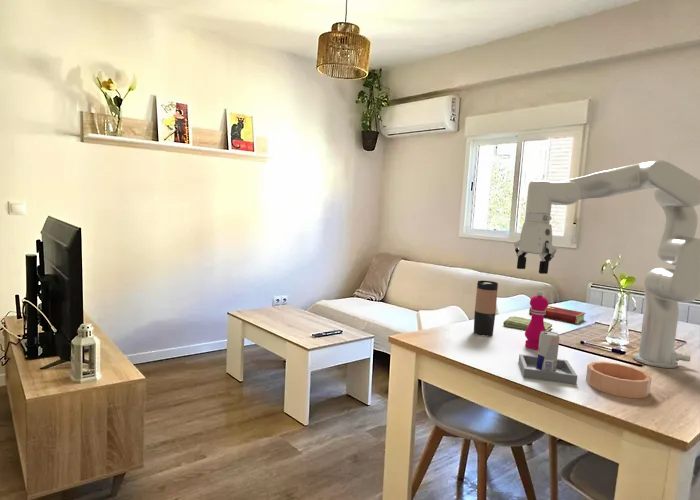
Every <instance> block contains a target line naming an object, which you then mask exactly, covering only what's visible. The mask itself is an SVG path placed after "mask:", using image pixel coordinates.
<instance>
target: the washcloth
mask: <svg viewBox="0 0 700 500" xmlns="http://www.w3.org/2000/svg"><path fill="white" fill-rule="evenodd" d="M530 321H531V318H525V317H521V316H520V317H519V316H509V317H508V318H507V319H505V320H504V321H503V327H507V328H510V329H517V330H522V331H523V330H524V331H526V328H527V327H528V325H529V323H530ZM543 322H544V327H545V329H546V331H550V330H551V328H552V327H553V324H551V322H548V321H547V322H546V321H543Z"/></svg>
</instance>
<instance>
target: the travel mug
mask: <svg viewBox="0 0 700 500" xmlns="http://www.w3.org/2000/svg"><path fill="white" fill-rule="evenodd" d="M498 285H499V283H498V282H497V281H492V280H477V283H476V295H475V304H474V305H475V306H474V315H473V316H474V319H473V333H474V334H475V335H476V336H477V335H478V336H483V337H492V336H493V335H494V329H495V319H496V311H497V300H498V289H499V288H498V287H499V286H498Z"/></svg>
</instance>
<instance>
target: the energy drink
mask: <svg viewBox="0 0 700 500" xmlns="http://www.w3.org/2000/svg"><path fill="white" fill-rule="evenodd" d="M559 344H560V334H559V333H558V332H554V331H550V330H548V331H541V333H540V338H539V348H538V351H537V356H538V357H537V365H536V366H535V367H536V368H535V369H538V370H546V371H553V372H557V368H556V365H557V359H558V354H559V346H560V345H559Z"/></svg>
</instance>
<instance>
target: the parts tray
mask: <svg viewBox="0 0 700 500" xmlns="http://www.w3.org/2000/svg"><path fill="white" fill-rule="evenodd" d="M537 357H538V355H530V354H529V355H528V354H521V353H518V364H519V367H520V370H521V375H522V377H523V378H528V379H533V380H534V379H535V380H541V381H549V382H557V383H562V384H570V385H577V382H578V375H577V373H576V372H575V370H574V369H573V366H572V365H571V364H570V363H569V361H568V360H567V359H561V358H559V359H558V358H557V365H556V369H563V371H564V372H560V371H559V372H558V371H556V372H553V371H546V370H538V369H536V368H530V367H528V365H533V366H537Z"/></svg>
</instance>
